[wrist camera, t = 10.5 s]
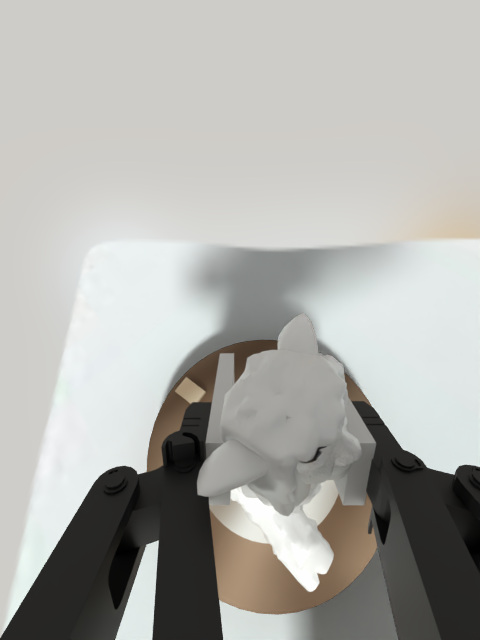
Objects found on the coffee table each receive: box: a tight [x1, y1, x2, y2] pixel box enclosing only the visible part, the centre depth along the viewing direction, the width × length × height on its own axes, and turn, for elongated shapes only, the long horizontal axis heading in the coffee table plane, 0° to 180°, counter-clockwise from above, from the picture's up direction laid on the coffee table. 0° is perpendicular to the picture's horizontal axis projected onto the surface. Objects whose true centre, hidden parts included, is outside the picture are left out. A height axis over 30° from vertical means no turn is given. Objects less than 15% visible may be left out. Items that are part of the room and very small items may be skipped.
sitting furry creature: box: [197, 313, 362, 592], centre depth 12 cm, size 10×9×12 cm
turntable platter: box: [147, 340, 377, 614], centre depth 22 cm, size 18×18×2 cm
